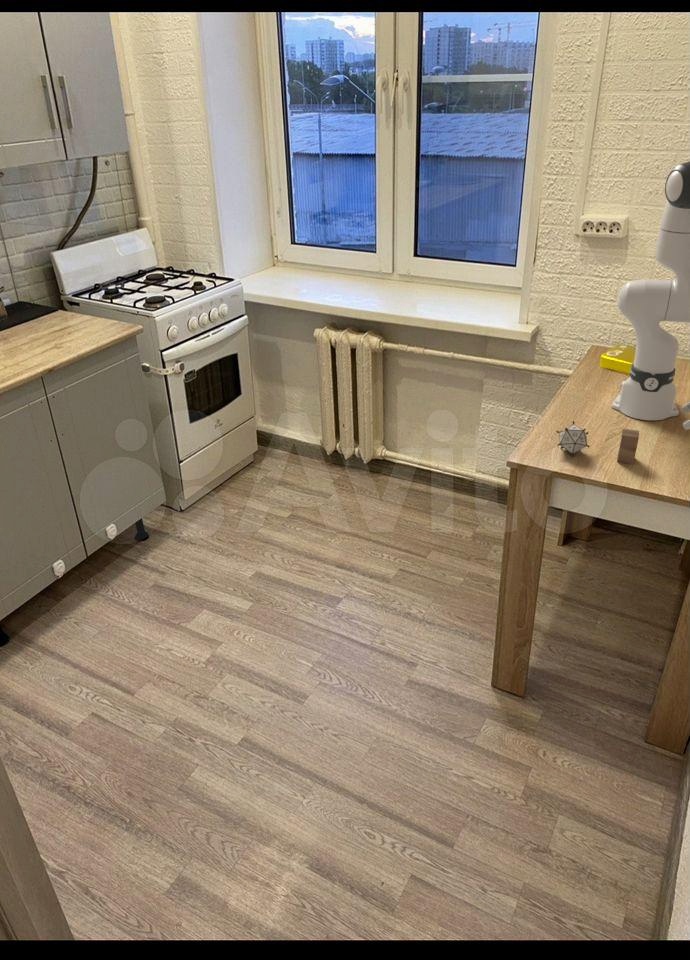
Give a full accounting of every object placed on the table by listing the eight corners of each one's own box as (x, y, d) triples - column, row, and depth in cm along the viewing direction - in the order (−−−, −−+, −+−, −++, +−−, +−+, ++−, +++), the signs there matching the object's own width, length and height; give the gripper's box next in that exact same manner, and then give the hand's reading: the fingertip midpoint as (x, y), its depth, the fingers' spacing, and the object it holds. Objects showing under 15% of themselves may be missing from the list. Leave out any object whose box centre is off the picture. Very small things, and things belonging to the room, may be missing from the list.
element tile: (638, 378, 235) (641, 364, 233) (596, 367, 245) (598, 354, 242) (658, 365, 245) (660, 352, 242) (616, 355, 254) (619, 342, 251)
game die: (565, 460, 196) (566, 424, 197) (594, 459, 190) (596, 422, 191) (549, 455, 190) (551, 418, 191) (579, 454, 184) (580, 416, 185)
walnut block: (617, 455, 190) (623, 428, 186) (633, 457, 189) (639, 430, 185) (617, 462, 187) (622, 435, 183) (633, 464, 186) (638, 437, 181)
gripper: (725, 362, 177) (675, 393, 185) (732, 393, 161) (676, 426, 169) (741, 380, 178) (690, 411, 186) (749, 414, 161) (692, 445, 169)
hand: (683, 418), depth 177 cm, fingers open, 8 cm apart
